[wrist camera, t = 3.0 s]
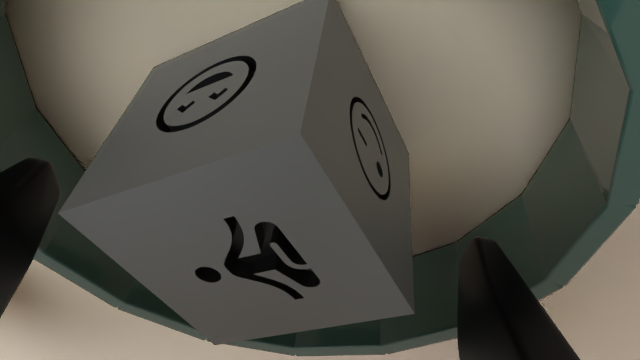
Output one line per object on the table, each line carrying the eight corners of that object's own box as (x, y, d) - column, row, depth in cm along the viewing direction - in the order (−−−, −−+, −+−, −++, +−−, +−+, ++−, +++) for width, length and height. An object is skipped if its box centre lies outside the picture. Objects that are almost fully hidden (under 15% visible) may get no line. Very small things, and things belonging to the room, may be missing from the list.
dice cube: (408, 152, 13) (414, 313, 10) (255, 196, 15) (214, 345, 12) (331, -12, 11) (300, 133, 7) (153, 67, 12) (57, 213, 9)
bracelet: (798, -182, 8) (952, -140, 6) (465, 308, 18) (475, 387, 16) (-159, -376, 7) (-381, -409, 5) (64, 238, 18) (20, 310, 16)
